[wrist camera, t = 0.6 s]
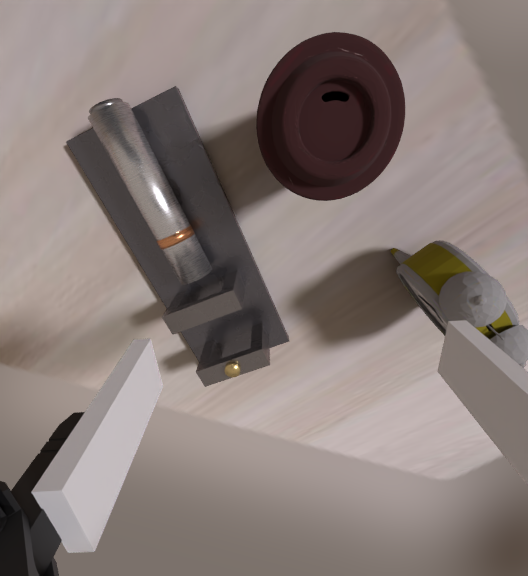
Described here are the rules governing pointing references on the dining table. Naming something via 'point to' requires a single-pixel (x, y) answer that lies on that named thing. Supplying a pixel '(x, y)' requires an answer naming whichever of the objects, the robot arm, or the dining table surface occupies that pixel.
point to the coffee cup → (330, 116)
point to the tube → (149, 188)
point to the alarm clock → (462, 295)
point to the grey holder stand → (211, 235)
